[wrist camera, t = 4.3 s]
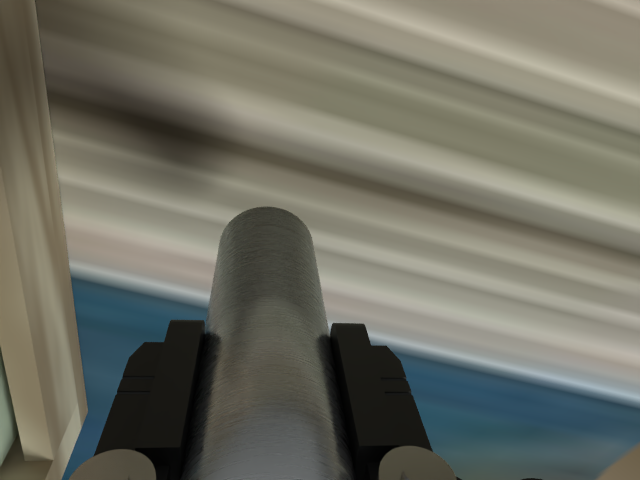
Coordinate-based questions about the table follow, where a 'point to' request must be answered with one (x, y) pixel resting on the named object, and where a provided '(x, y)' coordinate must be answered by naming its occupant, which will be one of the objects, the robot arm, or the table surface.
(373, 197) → the table surface
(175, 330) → the robot arm
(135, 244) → the table surface
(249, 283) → the peg
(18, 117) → the bay
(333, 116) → the table surface
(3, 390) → the square socket block
